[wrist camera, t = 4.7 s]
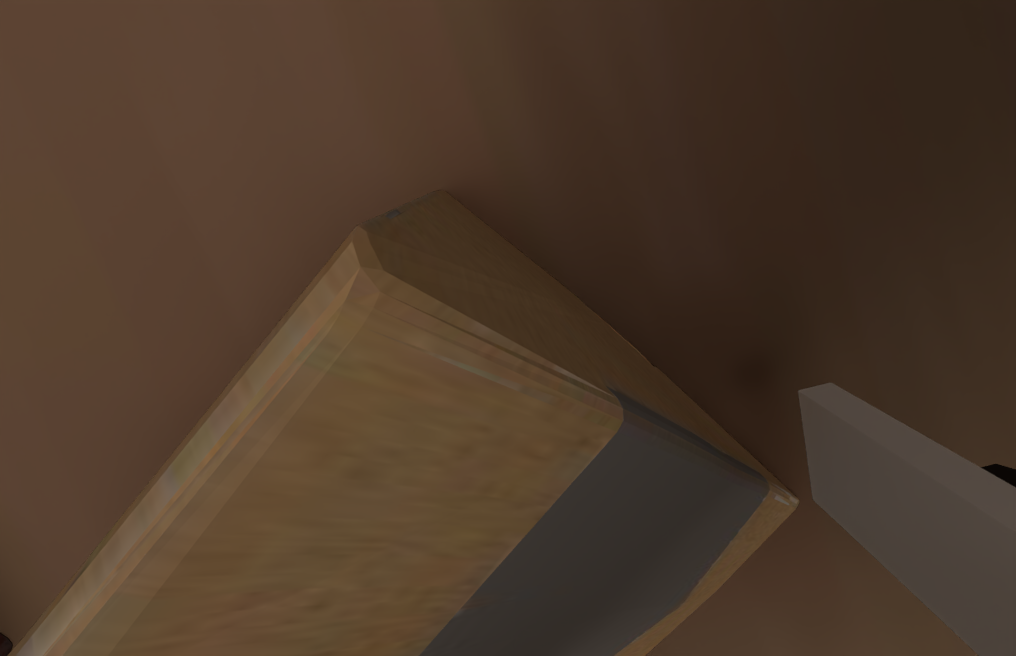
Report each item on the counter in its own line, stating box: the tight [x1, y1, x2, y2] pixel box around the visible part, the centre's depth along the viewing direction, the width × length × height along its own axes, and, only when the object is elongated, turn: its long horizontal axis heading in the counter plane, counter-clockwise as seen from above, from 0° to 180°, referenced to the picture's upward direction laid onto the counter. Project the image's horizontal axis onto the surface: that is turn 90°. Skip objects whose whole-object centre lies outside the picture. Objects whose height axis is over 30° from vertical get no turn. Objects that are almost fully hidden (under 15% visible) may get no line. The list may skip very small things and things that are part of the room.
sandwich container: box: [8, 190, 800, 656], centre depth 13 cm, size 9×15×15 cm, turn 49°
